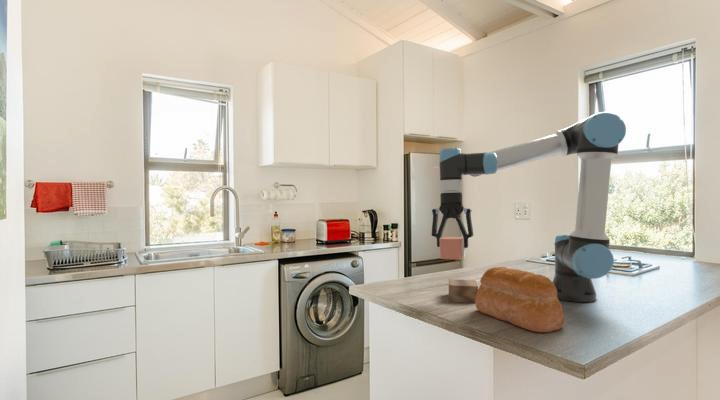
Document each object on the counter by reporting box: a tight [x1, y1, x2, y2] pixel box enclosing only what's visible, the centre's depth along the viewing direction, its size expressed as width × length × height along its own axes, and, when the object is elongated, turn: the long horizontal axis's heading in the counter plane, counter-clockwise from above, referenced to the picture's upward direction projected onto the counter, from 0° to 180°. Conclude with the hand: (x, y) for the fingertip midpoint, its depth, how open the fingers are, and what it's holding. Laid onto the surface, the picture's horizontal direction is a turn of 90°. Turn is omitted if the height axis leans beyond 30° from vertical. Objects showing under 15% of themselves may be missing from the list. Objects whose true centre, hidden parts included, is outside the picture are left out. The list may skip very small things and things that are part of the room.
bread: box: [474, 266, 565, 334], centre depth 120 cm, size 14×26×15 cm, turn 26°
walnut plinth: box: [448, 279, 479, 304], centre depth 144 cm, size 10×10×6 cm
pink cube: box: [439, 236, 463, 260], centre depth 139 cm, size 7×7×7 cm
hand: (452, 256), depth 139 cm, fingers closed on pink cube, 7 cm apart
